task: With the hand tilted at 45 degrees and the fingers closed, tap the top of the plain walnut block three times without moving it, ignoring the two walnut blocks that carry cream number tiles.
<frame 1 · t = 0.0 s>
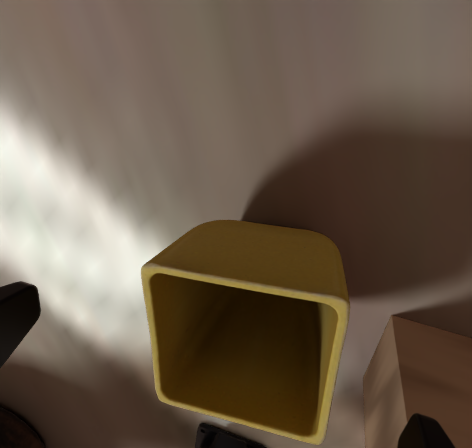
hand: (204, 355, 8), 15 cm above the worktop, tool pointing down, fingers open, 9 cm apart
numbered block b: (422, 362, 24), on the worktop
flower pot: (274, 258, 24), on the worktop
jug: (4, 428, 46), on the worktop
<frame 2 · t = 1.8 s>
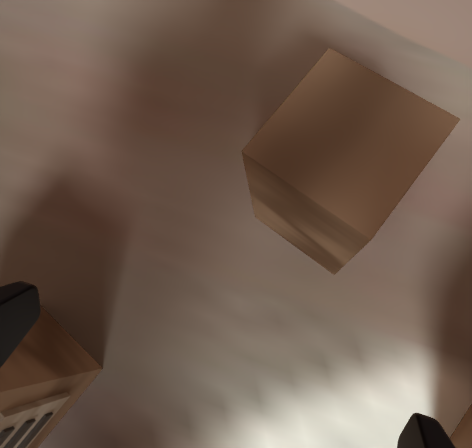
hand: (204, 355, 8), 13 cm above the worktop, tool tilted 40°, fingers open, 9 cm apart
numbered block b: (35, 375, 22), on the worktop
plain block: (322, 208, 23), on the worktop
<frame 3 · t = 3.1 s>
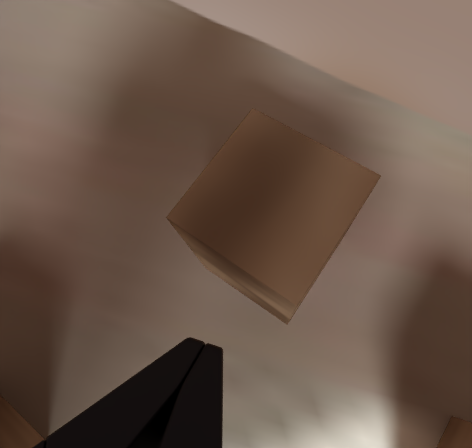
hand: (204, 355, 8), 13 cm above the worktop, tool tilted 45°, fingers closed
plain block: (272, 255, 23), on the worktop
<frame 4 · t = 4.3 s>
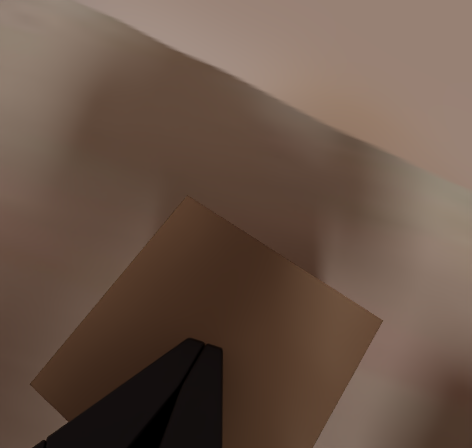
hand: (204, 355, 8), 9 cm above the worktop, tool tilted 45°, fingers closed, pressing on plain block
plain block: (232, 364, 17), on the worktop, touching gripper
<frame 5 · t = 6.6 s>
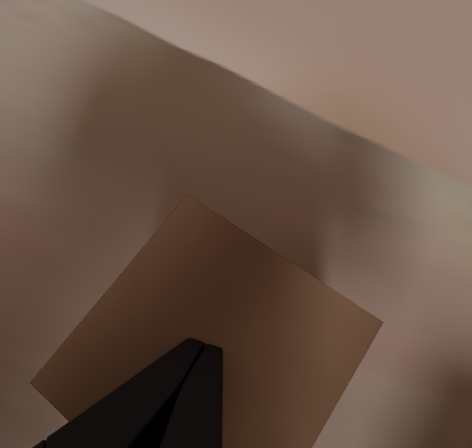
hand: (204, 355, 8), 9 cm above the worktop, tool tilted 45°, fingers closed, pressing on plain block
plain block: (234, 361, 17), on the worktop, touching gripper
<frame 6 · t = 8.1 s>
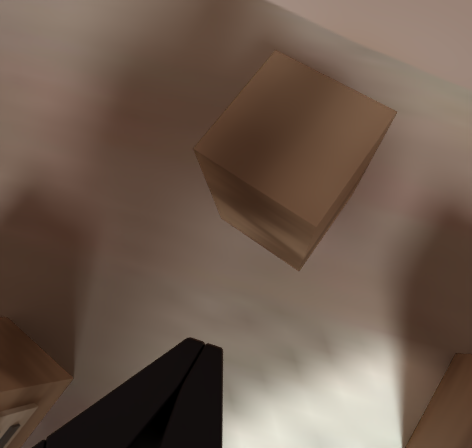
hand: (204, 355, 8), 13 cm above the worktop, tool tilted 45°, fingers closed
numbered block b: (4, 390, 22), on the worktop
plain block: (285, 207, 23), on the worktop
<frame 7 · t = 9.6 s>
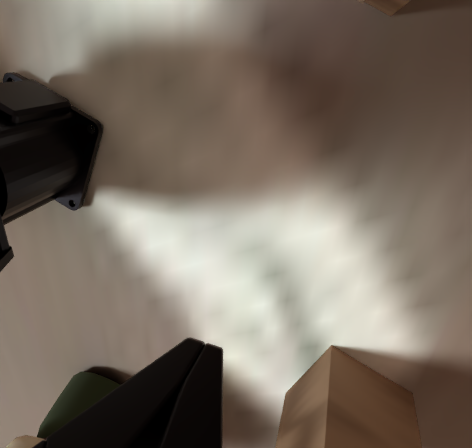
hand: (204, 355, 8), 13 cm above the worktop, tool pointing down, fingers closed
numbered block a: (345, 393, 25), on the worktop
character mug: (108, 389, 33), on the worktop
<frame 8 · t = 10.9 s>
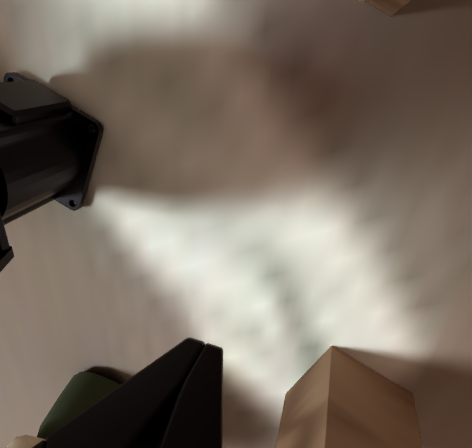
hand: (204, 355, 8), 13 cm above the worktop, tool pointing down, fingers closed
numbered block a: (345, 393, 25), on the worktop
character mug: (108, 389, 33), on the worktop
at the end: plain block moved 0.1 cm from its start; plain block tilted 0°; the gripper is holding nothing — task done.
